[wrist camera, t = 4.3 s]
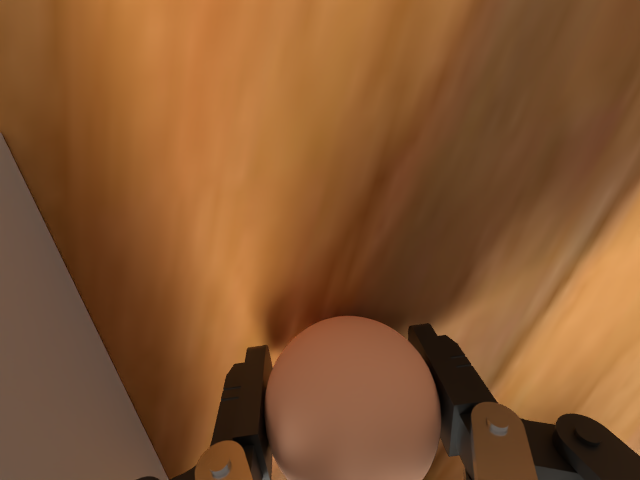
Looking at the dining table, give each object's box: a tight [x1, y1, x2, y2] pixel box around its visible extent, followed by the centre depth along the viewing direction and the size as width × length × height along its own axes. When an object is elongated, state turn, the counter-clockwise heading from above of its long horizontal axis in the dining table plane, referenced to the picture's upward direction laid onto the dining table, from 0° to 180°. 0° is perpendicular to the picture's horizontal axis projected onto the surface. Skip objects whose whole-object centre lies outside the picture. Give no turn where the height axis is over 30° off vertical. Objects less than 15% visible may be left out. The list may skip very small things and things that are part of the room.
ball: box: [264, 316, 441, 480], centre depth 10 cm, size 6×6×6 cm
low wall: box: [0, 133, 169, 480], centre depth 10 cm, size 2×18×5 cm, turn 5°
